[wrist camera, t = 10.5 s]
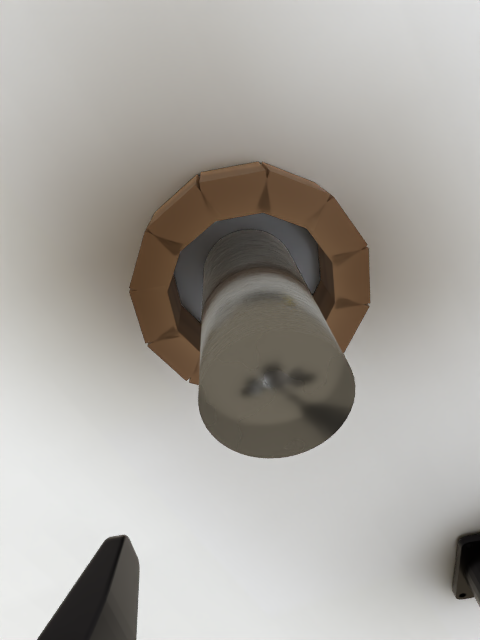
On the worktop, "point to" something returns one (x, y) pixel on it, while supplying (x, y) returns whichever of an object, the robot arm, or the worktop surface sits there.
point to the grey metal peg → (267, 352)
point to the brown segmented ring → (236, 201)
